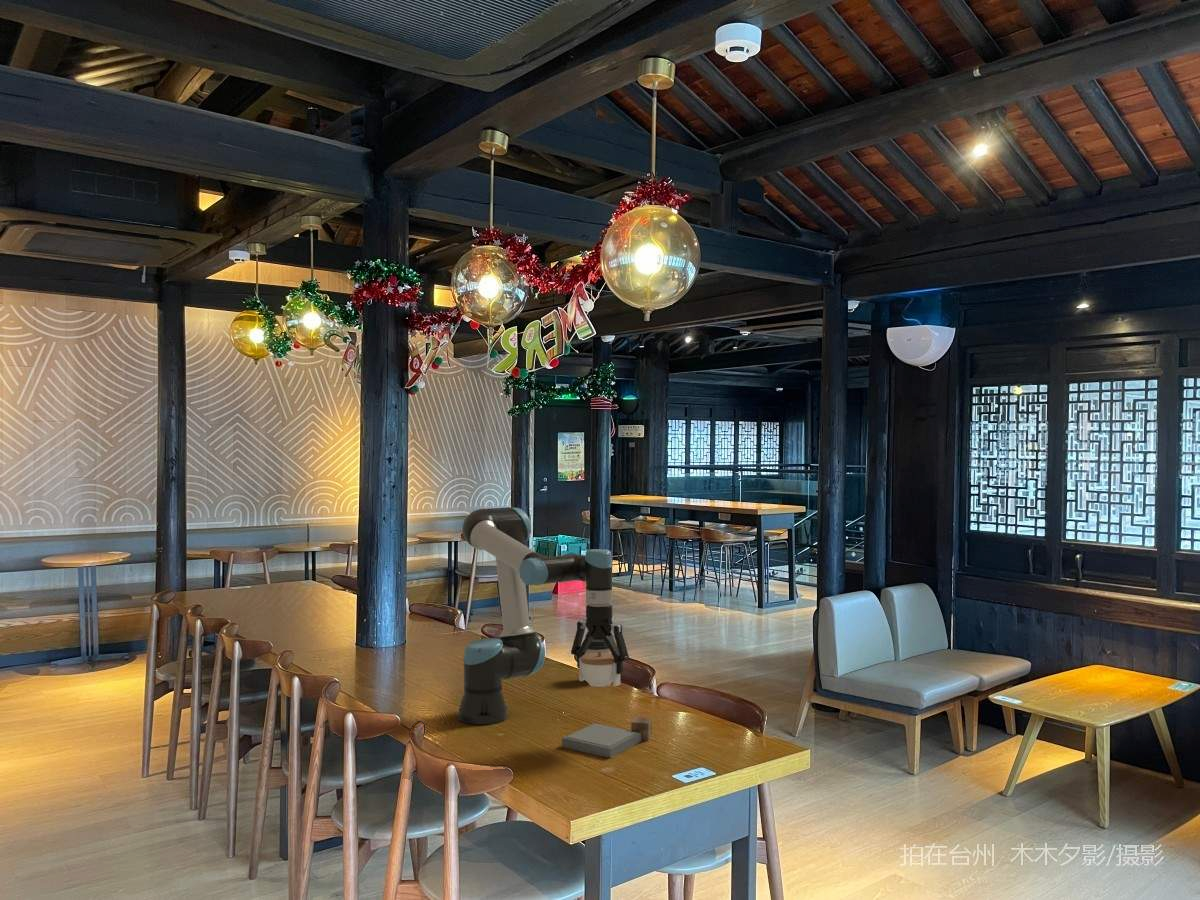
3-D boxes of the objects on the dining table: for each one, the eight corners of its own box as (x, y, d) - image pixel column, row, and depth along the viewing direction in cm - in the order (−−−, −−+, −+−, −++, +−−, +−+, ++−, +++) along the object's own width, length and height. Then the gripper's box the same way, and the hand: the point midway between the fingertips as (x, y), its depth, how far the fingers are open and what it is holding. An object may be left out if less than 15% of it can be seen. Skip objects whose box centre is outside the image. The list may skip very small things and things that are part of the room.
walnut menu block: (631, 739, 239) (631, 722, 239) (634, 734, 244) (635, 716, 244) (648, 741, 238) (648, 723, 238) (651, 735, 243) (651, 718, 243)
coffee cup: (614, 677, 308) (614, 636, 308) (611, 685, 297) (611, 642, 297) (583, 676, 309) (583, 635, 309) (579, 684, 298) (579, 642, 298)
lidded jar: (586, 690, 231) (586, 656, 231) (576, 681, 241) (576, 648, 242) (623, 687, 234) (623, 653, 234) (612, 678, 244) (612, 646, 244)
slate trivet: (562, 746, 233) (562, 737, 233) (594, 731, 246) (594, 722, 246) (610, 758, 224) (610, 748, 224) (641, 741, 237) (641, 732, 237)
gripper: (558, 602, 241) (558, 680, 241) (627, 609, 229) (628, 691, 228) (573, 599, 248) (573, 674, 247) (641, 605, 235) (641, 685, 234)
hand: (599, 682), depth 238 cm, fingers closed on lidded jar, 11 cm apart
